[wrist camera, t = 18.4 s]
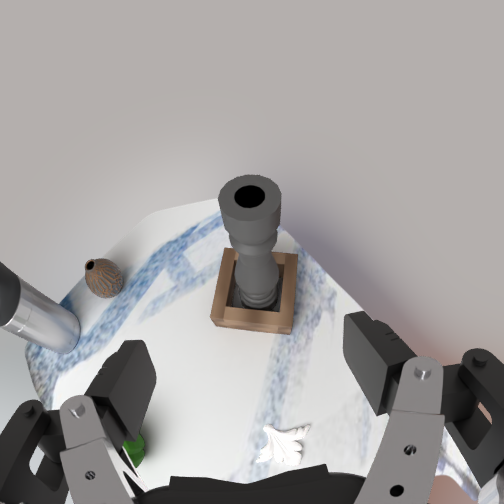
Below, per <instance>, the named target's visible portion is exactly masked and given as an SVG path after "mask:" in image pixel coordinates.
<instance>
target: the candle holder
mask: <svg viewBox="0 0 504 504" xmlns="http://www.w3.org/2000/svg"><path fill="white" fill-rule="evenodd" d="M218 201H219V206H220V210H221V214H222V218H223V222H224V226H225V229H226V230H227V231H228V233H229V239H230V242H231V246H232V247H233V248H234V249H235V251H236V252H237V253H239V256H238V260H237V264H236V268H235V273H234V275H235V279H236V283H237V285H238V286H239V295H240V299H241V302H242V306H243V307H244V308H245V309H251V310H261V311H271V310H273V309H274V307H275V305H276V303H277V296H278V287H277V284H276V283H277V282H278V278H279V269H278V266H277V263H276V261H275V259H274V257H273V255H272V252H271V250H272V249H273V247H274V246H275V244H276V242H277V233H278V232H277V230H276V229H277V228H278V226H279V225H280V214H281V192H280V190H279V188H278V185H277V184H275V183H274V182H273V181H272V180H271V179H269V178H266V177H263V176H260V175H244V176H240V177H236V178H234V179H233V180H231V181H229V182H228V183H226V184H225V186H224V187H223V188H222V189H221V191H220V194H219V197H218Z"/></svg>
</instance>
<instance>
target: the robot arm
mask: <svg viewBox="0 0 504 504" xmlns="http://www.w3.org/2000/svg"><path fill="white" fill-rule="evenodd" d="M0 328H2V329H4V330H7V331H8V332H11V333H13V334H15V335H17V336H19V337H21V338H23V339H25V340H28V341H30V342H32V343H34V344H37V345H39V346H41V347H44V348H46V349H49V350H51V351H54V352H56V353H59V354H67V353H69V352H71V351H72V350H73V349H74V347H75V346H76V344H77V342H78V339H79V335H80V326H79V322H78V319H77V317H76V316H75V315H74V314H73V313H71V312H70V311H68V310H67V309H65V308H63V307H62V306H60V305H59V304H57V303H55V302H54V301H53V300H51V299H50V298H48V297H47V296H45V295H44V294H42V293H41V292H39V291H38V290H36V289H35V288H34V287H32V286H31V285H30V284H28V283H27V282H25V281H24V280H23V279H21V278H20V277H19V276H17V275H16V274H15V273H13V272H12V271H11V270H10V269H8V268H7V267H6V266H5V265H4V264H3V263H1V262H0ZM343 353H344V357H345V360H346V362H347V364H348V366H349V368H350V369H351V371H352V373H353V375H354V376H355V378H356V380H357V382H358V384H359V385H360V387H361V389H362V391H363V392H364V394H365V396H366V398H367V400H368V401H369V403H370V405H371V407H372V409H373V411H374V412H375V414H376V416H379V415H382V414H385V413H388V415H389V417H390V418H389V421H388V424H387V427H386V430H385V433H384V436H383V438H382V441H381V444H380V447H379V449H378V452H377V454H376V457H375V459H374V462H373V464H372V466H371V469H370V471H369V473H368V476H367V478H366V477H363V476H359V475H355V474H349V473H339V472H328V469H327V466H326V464H322V465H318V466H313V467H308V468H303V469H298V470H292V471H287V472H284V473H281V474H278V475H275V476H272V477H269V478H266V479H263V480H260V481H256V482H253V483H249V484H242V483H235V482H229V481H223V480H217V479H212V478H207V477H178V476H171V477H170V483H169V485H168V486H162V487H158V488H155V489H152V490H149V489H148V488H147V486H146V485H145V484H144V482H143V480H142V479H141V477H140V475H139V474H138V472H137V470H136V468H135V467H134V465H133V463H132V461H131V459H130V458H129V456H128V454H127V452H126V450H125V448H124V447H123V443H124V441H132V442H136V441H137V437H138V434H139V431H140V428H141V425H142V422H143V419H144V416H145V413H146V411H147V408H148V405H149V402H150V399H151V396H152V393H153V390H154V388H155V385H156V372H155V369H154V366H153V363H152V361H151V358H150V355H149V353H148V350H147V347H146V344H145V342H144V341H143V340H126V341H124V342H123V344H122V345H121V347H120V348H119V350H118V351H117V352H115V353H114V354H112V355H111V356H110V357H109V358H107V359H106V361H105V362H104V364H103V365H102V368H101V369H100V370H99V372H98V375H96V376H95V378H94V379H93V381H92V383H91V384H90V386H89V387H88V389H87V391H86V392H85V394H84V395H78V396H74V397H71V398H69V399H68V400H66V401H65V402H64V403H63V404H62V406H61V408H60V410H50V411H47V410H46V409H45V408H44V406H43V404H42V403H41V402H40V401H38V400H29V401H26V402H24V403H22V404H21V405H20V406H19V407H18V409H17V410H16V412H15V413H14V415H13V416H12V417H11V419H10V420H9V422H8V423H7V425H6V427H5V428H4V430H3V431H2V433H1V435H0V504H65V501H66V497H67V494H68V491H69V490H70V493H71V497H72V499H73V502H74V504H428V503H427V502H428V499H429V495H430V492H431V488H432V484H433V481H434V477H435V473H436V468H437V464H438V459H439V454H440V448H441V442H442V436H443V429H444V426H445V427H446V429H447V431H448V432H449V434H450V435H451V437H452V439H453V440H454V442H455V444H456V445H457V447H458V449H459V450H460V452H461V454H462V455H463V457H464V459H465V461H466V462H467V464H468V466H469V467H470V469H471V471H472V473H473V475H474V476H475V478H476V480H477V482H478V484H479V486H480V488H481V491H480V493H479V497H478V504H504V364H503V363H502V362H500V361H499V360H498V359H497V358H496V357H495V356H494V355H493V354H492V353H490V352H489V351H487V350H484V349H478V348H476V349H471V350H468V351H467V352H465V354H464V355H463V358H462V361H461V363H460V364H455V365H448V366H442V365H441V364H440V363H439V362H438V361H437V360H435V359H433V358H431V357H425V356H419V357H418V356H417V355H416V354H415V353H414V352H413V351H412V350H411V349H410V348H409V347H408V346H407V345H406V344H405V343H404V341H403V340H402V339H400V338H399V336H398V335H397V334H396V333H394V331H393V330H392V329H391V328H390V327H389V326H388V325H387V324H385V323H383V322H381V321H378V320H374V321H373V320H372V319H371V318H370V317H369V316H368V315H367V314H366V312H364V311H360V312H355V313H351V314H346V315H345V317H344V335H343ZM479 402H481V403H482V404H483V406H484V407H485V408H486V410H487V411H488V412H489V413H490V415H491V418H492V425H491V423H490V422H489V421H488V419H487V418H486V417H485V416H484V414H483V413H482V411H481V410H480V409H479V408H478V405H479ZM37 446H38V447H39V448H40V449H41V450H42V451H43V452H44V453H45V455H44V457H43V459H42V461H41V464H40V466H39V468H38V471H37V473H36V475H34V474H33V473H32V472H31V470H30V467H29V462H30V459H31V457H32V455H33V453H34V451H35V449H36V447H37Z"/></svg>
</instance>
